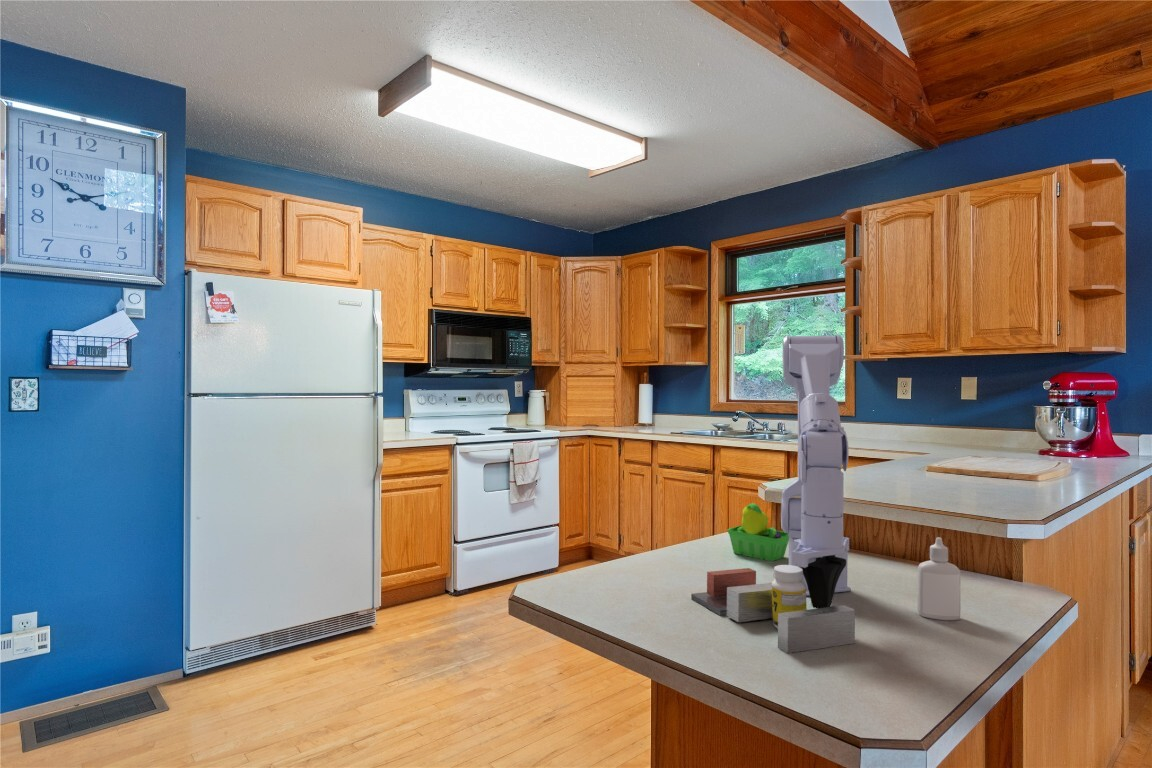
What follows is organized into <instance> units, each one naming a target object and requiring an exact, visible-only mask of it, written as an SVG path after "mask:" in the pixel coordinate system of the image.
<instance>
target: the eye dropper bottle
mask: <svg viewBox="0 0 1152 768" xmlns="http://www.w3.org/2000/svg"><path fill="white" fill-rule="evenodd" d="M943 543H944V542H943V539H942V537H939V536H938V537H936V538H935V543H934V544H931V545H930V546H929V559H930V560H925V561H923V562H920V563H919V564H918V566H917V595H916V596H917V612H918V613H919V615H920V616H922V618H926V619H930V620H931V619H932V620H940V621H959V620H960V619H961V570H960V568H959V567H957V566H956V564H953V563H951V562H948V561H949V547H947V546H945V545H944V544H943Z"/></svg>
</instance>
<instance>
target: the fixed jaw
mask: <svg viewBox="0 0 1152 768" xmlns="http://www.w3.org/2000/svg"><path fill="white" fill-rule="evenodd" d="M855 631H856V609H854V608H851V607H850V606H847V605H844V604H843V605H833V606H831V607H826V608H811V609H807V610H801V611H793V612H785V613H778V629H777V648H778V649H780V650H781V651H783V652H785V653H786V654H790V653H791V654H793V653H798V652H804V651H811V650H817V649H825V648H831V647H839V646H845V645H846V646H847V645H852V644H855V642H856V641H855V640H856V638H855V636H856V632H855Z"/></svg>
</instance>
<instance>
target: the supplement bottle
mask: <svg viewBox="0 0 1152 768" xmlns="http://www.w3.org/2000/svg"><path fill="white" fill-rule="evenodd" d="M773 579H774V580H772V582H771V583H772V610H773V618H772V624H773V627H775V628H776V629H777V630H778V613H785V612H793V611H801V610H808V608H807V595H806V585H805V583H804V582H803V581H802V580H803V570H802V568H800V567H797V566H793V565H789V564H778V565H776V566H773Z"/></svg>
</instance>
